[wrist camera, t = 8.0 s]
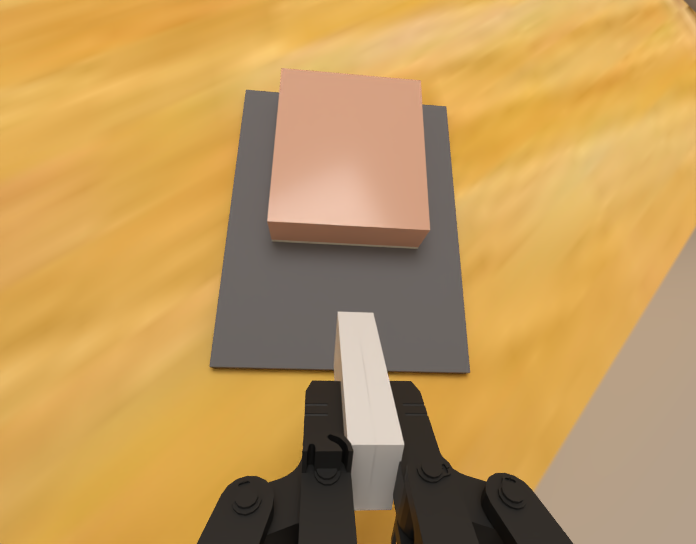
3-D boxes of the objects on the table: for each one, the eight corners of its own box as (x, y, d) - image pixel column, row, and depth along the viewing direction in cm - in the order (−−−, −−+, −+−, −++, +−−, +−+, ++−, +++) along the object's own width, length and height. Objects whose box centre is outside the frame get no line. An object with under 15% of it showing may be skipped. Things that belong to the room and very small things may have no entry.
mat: (211, 367, 23) (209, 366, 23) (247, 95, 30) (246, 89, 30) (466, 373, 25) (470, 372, 24) (443, 111, 32) (446, 106, 31)
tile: (267, 221, 23) (281, 68, 27) (271, 241, 26) (284, 100, 30) (429, 230, 24) (420, 80, 28) (417, 248, 26) (410, 110, 30)
